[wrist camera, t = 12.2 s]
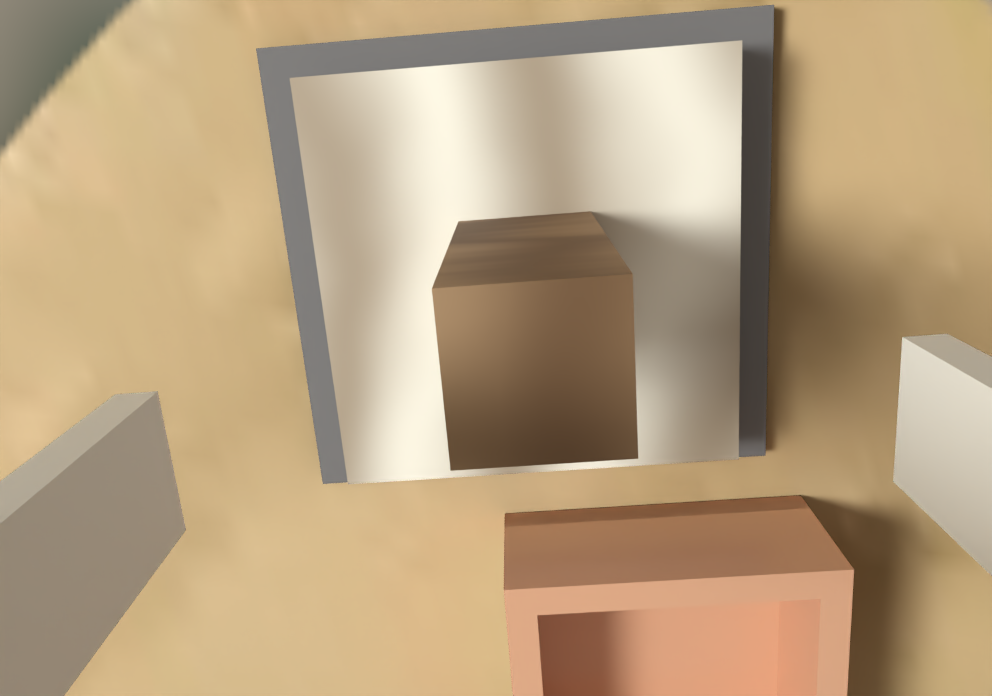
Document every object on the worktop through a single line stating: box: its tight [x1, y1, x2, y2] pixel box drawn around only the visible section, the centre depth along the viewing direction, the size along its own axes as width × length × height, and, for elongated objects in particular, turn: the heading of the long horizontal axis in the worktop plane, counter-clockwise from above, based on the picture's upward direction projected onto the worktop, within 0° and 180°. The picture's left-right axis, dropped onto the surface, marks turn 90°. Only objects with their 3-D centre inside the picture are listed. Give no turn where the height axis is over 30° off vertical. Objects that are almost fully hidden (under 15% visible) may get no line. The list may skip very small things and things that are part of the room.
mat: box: [256, 5, 774, 484], centre depth 28 cm, size 16×15×1 cm
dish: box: [504, 495, 854, 696], centre depth 30 cm, size 11×11×5 cm
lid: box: [290, 40, 742, 484], centre depth 22 cm, size 13×13×11 cm
